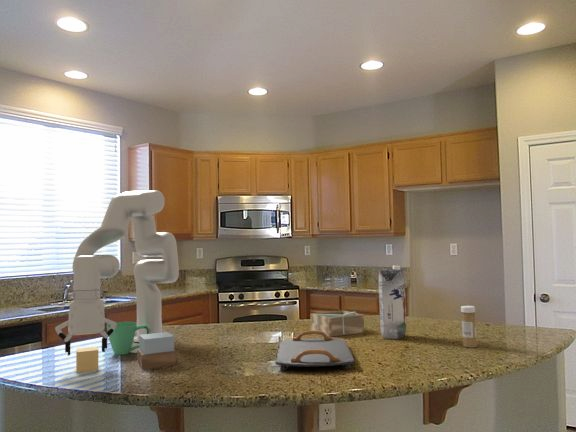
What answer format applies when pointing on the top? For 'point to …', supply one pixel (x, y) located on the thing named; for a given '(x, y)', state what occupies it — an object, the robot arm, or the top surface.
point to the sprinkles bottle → (468, 326)
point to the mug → (124, 336)
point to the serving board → (313, 352)
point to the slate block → (156, 343)
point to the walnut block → (156, 359)
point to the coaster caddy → (337, 323)
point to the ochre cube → (86, 359)
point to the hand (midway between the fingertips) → (86, 352)
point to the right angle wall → (335, 316)
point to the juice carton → (392, 303)
